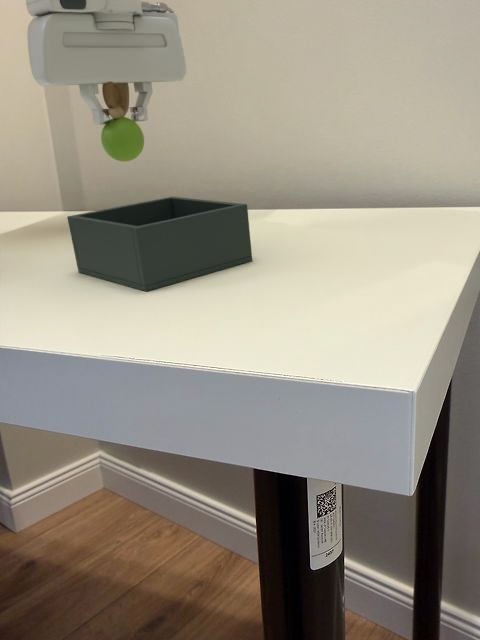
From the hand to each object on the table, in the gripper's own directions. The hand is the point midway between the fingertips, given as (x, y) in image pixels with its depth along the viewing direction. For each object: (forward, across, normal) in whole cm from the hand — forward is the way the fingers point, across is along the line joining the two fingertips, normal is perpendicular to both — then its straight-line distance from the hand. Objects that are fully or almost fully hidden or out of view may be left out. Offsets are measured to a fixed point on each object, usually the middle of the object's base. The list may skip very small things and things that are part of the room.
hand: (121, 122), depth 85 cm
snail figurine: (+5, 0, 0) cm, 5 cm away
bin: (+12, +12, +25) cm, 31 cm away
